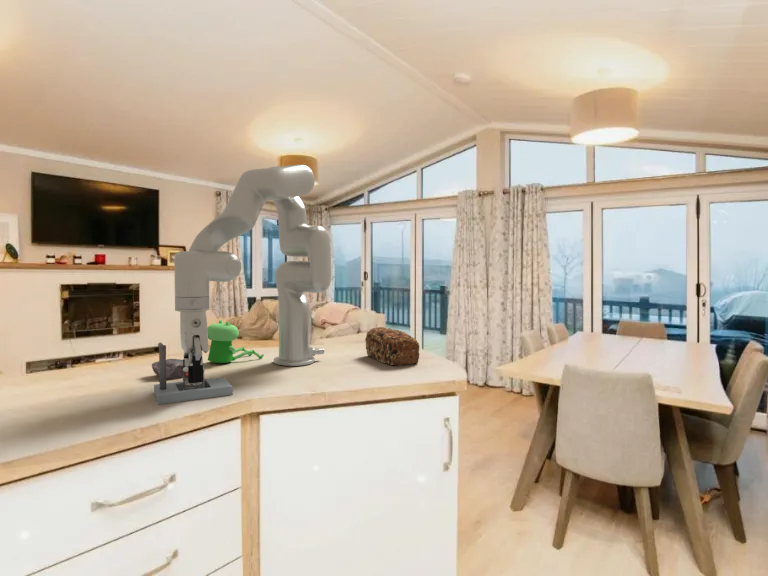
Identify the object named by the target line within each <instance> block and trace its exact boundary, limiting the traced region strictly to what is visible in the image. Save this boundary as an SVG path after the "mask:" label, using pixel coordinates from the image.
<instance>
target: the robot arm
mask: <svg viewBox="0 0 768 576" xmlns="http://www.w3.org/2000/svg"><path fill="white" fill-rule="evenodd" d="M315 182H316V179H315V174H314V172H313V170H312V169H311V168H310V167H309V166H307V165H305V164H292V165H291V164H290V165H278V166H270V167H267V168H255V169H254V168H253V169H249V170H246V171H244V172H243V173H242V174H241V175H240V177H239V178H238V181H237V183H236V185H235V187H234V189H233V191H232V193H231V194H230V195H231V196H230V197H229V199H228V201H227V203H226V205H225V207H224V209H223V211H222V212H221V213H220V214H219V215H218V216H216V217H215V218H214V219H213V220H212V221H210V222H209V223H208V224H207V225H205V226H204V228H202V230H201V231H200V232H199V233H198V234H197V235H196V237H195V238H194V240H193V241H192V243H191V245H190V247H189V249H188V251H185V250H183V251H178V252H177V253H176V254H175V255H174V261H173V262H174V311H175V312H180V314H179V319H180V320H179V321H180V323H179V325H180V327H179V328H180V330H179V332H180V334H179V335H180V346H181V347H180V348H181V350H183V359H182V360H183V368H184V367H186V366H185V359H187V358H189V365H190V366H188V382H189V383H199V382H203V367H204V358H203V353H205V354H207V353H208V352H209V339H208V331H207V328H208V321H207V313H206V311H209V310H210V282H219V283H220V282H222V283H225V282H232V281H233V280H235V279H237V277H238V276H239V275H240V273H241V270H242V263H241V260H240V258H239V257H238V255H235V254H234V253H233V252H229V251H226V250H225V251H224V250H220V251H219V249H221V247H223V246H224V245H225V244H226V243H228V242H230V241H231V240H234V239H236V238H238V237H240V236H242V235H244V234H246V233H248V232H250V231H251V230H253V228H254V227H255V225H256V222H257V220H258V219H259V216H260V214H261V211H262V209H263V207H264V205H265V204H266V202H267V201H272V202H273V204H274V206H275V208H276V211H277V222H278V240H279V241H278V245H279V250H280V251H281V253H282V254H283V255H285V256H288V257H295V258H296V257H299V258H301V257H305V258H308V261H306V260H288V261H285V262H283V263H281V264H280V265H278V267H277V268H276V271H275V274H274V276H275V277H274V278H275V284H276V289H277V295H278V296H277V297H278V356H276V357H274V358H273V363H274V364H275V365H279V366H283V367H299V366H307V365H311V364H313V363H315V356H316V355H324V354H325V349H324V347H320V348H318V347H312V346H310V345H311V343H310V342H311V341H310V340H311V337H310V335H311V332H310V331H311V330H310V329H311V327H310V325H311V322H310V320H311V319H310V318H311V317H310V316H311V314H310V313H311V305H310V302H309V300H308V297H307V295H306V293H311V294H316V293H318V294H321V293H325V292H326V291H327V290H329V287H330V286H331V280H332V259H331V258H332V257H331V254H332V251H331V250H332V249H331V248H332V247H331V239H330V236H329V233H328V231H327V230H326V228H324V227H323V226H321V225H317V224H316V225H315V224H308V223H307V222H308V221H307V220H308V219H307V209H306V207H305V204H304V202H303V200H302V198H300V197H302V196H306V195H308V194H310V193H311V192H312V190H313V189H314V187H315V184H316V183H315Z"/></svg>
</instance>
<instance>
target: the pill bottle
mask: <svg viewBox="0 0 768 576" xmlns="http://www.w3.org/2000/svg"><path fill="white" fill-rule="evenodd" d="M185 366H186V367H184V368H183V377H182V382H183V391H184V390H192V389H201V388H204V379H205V367H204V366H203V382H199V383H189V382H188V366H190V365H189V358H187V359H185Z"/></svg>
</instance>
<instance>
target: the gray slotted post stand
mask: <svg viewBox="0 0 768 576" xmlns="http://www.w3.org/2000/svg"><path fill="white" fill-rule="evenodd" d="M157 346H158V361H159V384H157V383H156V384H153V394H154V396H155V399H156V402H157V405H164V404H171V403H172V404H173V403H178V402H179V403H180V402H186V401H194V400H203V399H210V398H216V397H217V398H218V397H225V396H231V395H233V394H234V393H233V389H234V387H233V385H232V384H231V383H230V382H229V381H228V380H227V379H226V377H224V376H219V377H212V378H210V377H209V378H204V388H201V389H192V390H184V391H183V381H174V382H167V378H166V360H167V345H164V344H163V342H159V343H157Z"/></svg>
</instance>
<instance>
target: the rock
mask: <svg viewBox="0 0 768 576" xmlns="http://www.w3.org/2000/svg"><path fill="white" fill-rule="evenodd" d="M151 368H152V371H153V373H154V374H155V375H156V376H157V377H158V376H159V360H158V361H155V362H153V363H152V364H151ZM179 377H180V378H183V359H177V358H168V359H167V358H166V380H167V379H179Z"/></svg>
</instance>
